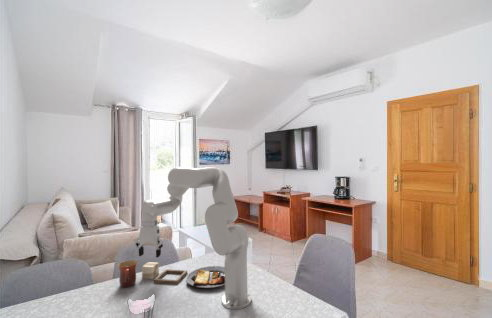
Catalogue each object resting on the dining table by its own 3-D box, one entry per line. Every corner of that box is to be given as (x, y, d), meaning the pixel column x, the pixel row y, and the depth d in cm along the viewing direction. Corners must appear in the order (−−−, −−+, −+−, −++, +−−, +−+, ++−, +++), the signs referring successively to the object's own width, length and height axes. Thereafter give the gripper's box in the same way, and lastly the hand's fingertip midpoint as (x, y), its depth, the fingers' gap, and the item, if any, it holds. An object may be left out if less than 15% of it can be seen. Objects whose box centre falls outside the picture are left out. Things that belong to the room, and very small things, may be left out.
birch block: (152, 278, 131) (152, 267, 132) (142, 278, 133) (142, 266, 133) (158, 273, 137) (158, 262, 137) (148, 273, 138) (148, 262, 138)
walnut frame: (177, 284, 125) (177, 281, 125) (153, 282, 127) (153, 279, 127) (187, 273, 137) (187, 270, 137) (165, 272, 139) (165, 269, 139)
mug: (118, 282, 128) (118, 261, 128) (137, 279, 131) (137, 259, 131) (116, 293, 117) (116, 271, 117) (137, 289, 120) (136, 267, 120)
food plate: (232, 291, 116) (232, 283, 116) (181, 292, 117) (181, 284, 117) (235, 270, 141) (235, 263, 141) (193, 271, 142) (193, 264, 142)
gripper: (168, 222, 138) (168, 254, 137) (138, 221, 141) (138, 252, 141) (161, 226, 130) (161, 259, 130) (130, 224, 133) (130, 257, 133)
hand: (149, 256), depth 135 cm, fingers open, 9 cm apart
